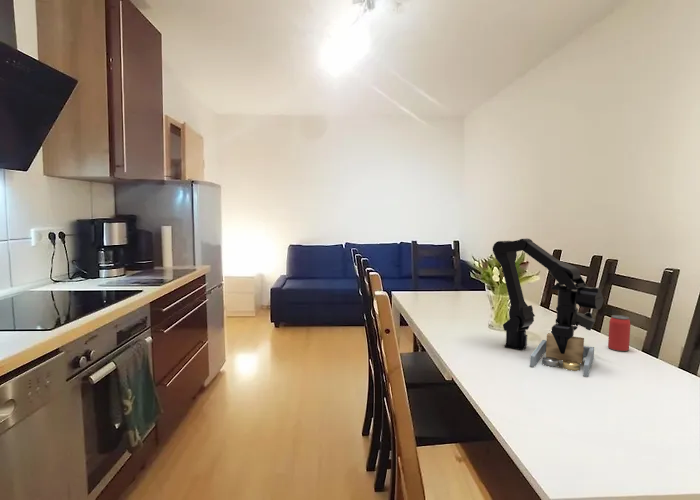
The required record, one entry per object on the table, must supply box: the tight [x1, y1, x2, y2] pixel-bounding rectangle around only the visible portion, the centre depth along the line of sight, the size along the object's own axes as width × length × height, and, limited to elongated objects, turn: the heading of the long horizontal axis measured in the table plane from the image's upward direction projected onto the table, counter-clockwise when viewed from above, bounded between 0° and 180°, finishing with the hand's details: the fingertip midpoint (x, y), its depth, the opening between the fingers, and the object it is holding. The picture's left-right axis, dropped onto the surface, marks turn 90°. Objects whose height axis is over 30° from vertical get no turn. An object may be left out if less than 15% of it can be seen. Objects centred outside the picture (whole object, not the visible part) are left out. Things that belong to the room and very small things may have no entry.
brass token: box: [562, 360, 581, 372], centre depth 145 cm, size 5×5×2 cm
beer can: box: [607, 314, 631, 352], centre depth 165 cm, size 7×7×12 cm
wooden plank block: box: [545, 333, 585, 365], centre depth 153 cm, size 11×3×8 cm, turn 58°
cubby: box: [529, 339, 595, 378], centre depth 151 cm, size 16×22×4 cm
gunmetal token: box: [541, 356, 560, 368], centre depth 148 cm, size 5×5×2 cm
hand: (564, 350), depth 153 cm, fingers open, 8 cm apart
